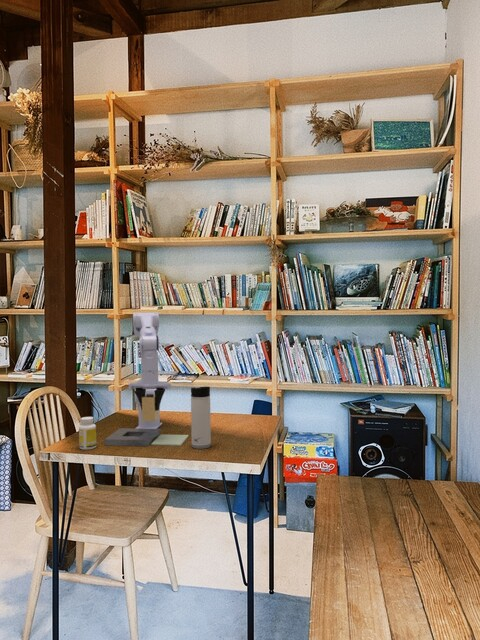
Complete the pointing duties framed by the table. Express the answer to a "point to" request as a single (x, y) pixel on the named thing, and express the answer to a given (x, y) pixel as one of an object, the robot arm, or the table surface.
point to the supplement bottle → (87, 433)
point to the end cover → (149, 408)
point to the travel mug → (200, 417)
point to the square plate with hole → (133, 437)
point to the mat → (170, 440)
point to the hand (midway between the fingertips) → (150, 409)
